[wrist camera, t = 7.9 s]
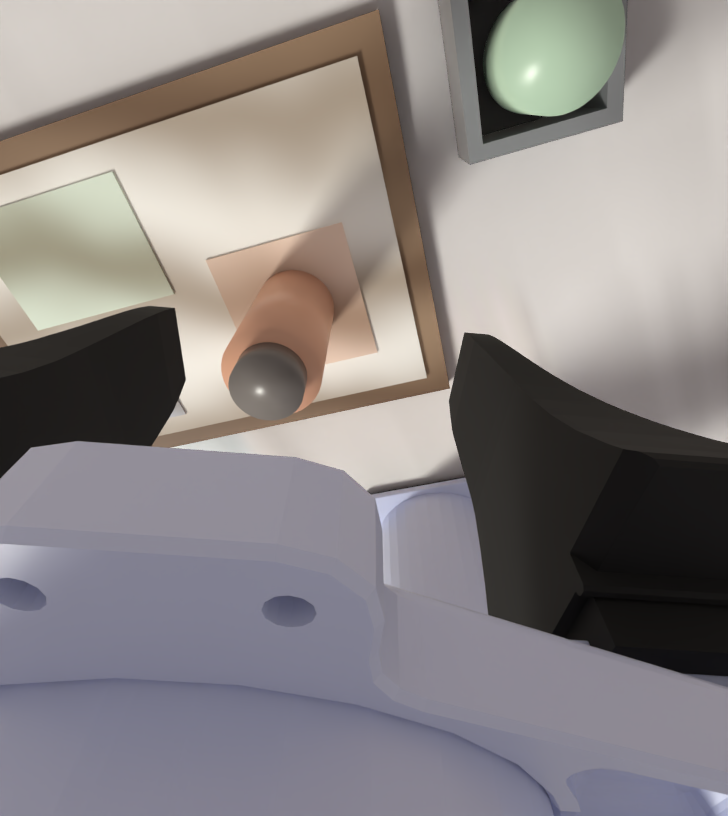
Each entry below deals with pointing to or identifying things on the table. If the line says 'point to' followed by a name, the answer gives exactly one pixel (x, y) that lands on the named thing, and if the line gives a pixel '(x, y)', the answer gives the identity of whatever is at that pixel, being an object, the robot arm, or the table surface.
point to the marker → (280, 347)
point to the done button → (552, 53)
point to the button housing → (483, 147)
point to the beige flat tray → (231, 221)
